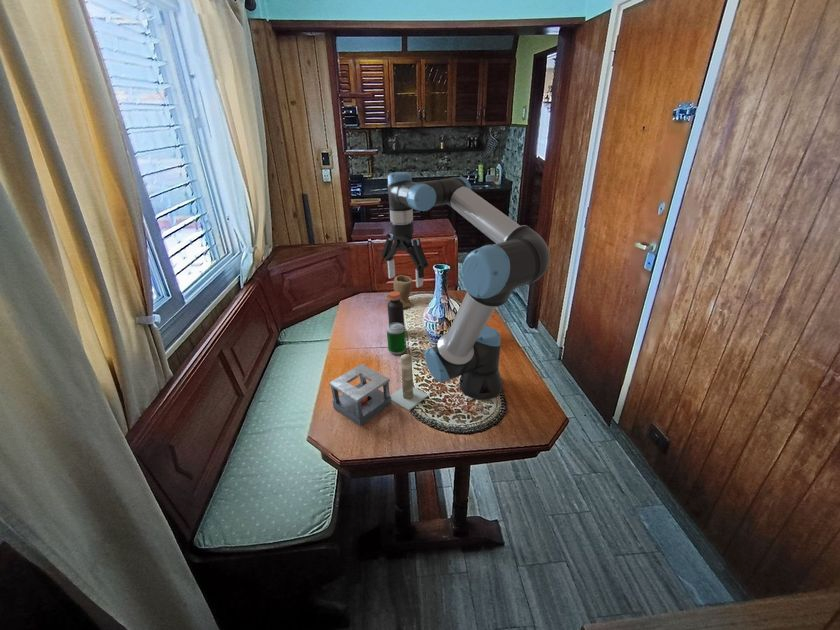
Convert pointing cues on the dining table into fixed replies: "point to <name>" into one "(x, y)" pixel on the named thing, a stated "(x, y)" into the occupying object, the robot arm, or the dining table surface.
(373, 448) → the dining table surface
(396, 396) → the coaster
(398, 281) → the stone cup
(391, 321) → the bottle
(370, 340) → the dining table surface
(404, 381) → the dowel
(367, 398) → the plunger
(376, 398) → the grey open frame cage
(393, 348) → the soda can
